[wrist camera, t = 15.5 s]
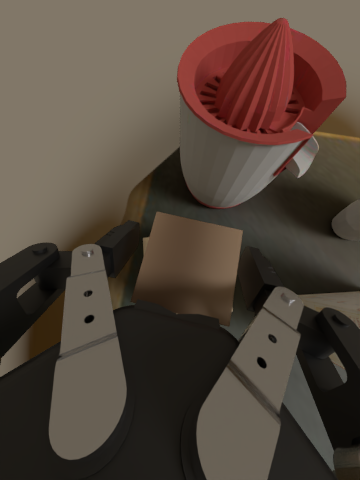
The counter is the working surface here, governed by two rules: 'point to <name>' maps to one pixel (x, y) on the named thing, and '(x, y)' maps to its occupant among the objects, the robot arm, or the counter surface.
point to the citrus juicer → (252, 108)
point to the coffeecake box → (336, 308)
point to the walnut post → (190, 267)
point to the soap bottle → (348, 222)
